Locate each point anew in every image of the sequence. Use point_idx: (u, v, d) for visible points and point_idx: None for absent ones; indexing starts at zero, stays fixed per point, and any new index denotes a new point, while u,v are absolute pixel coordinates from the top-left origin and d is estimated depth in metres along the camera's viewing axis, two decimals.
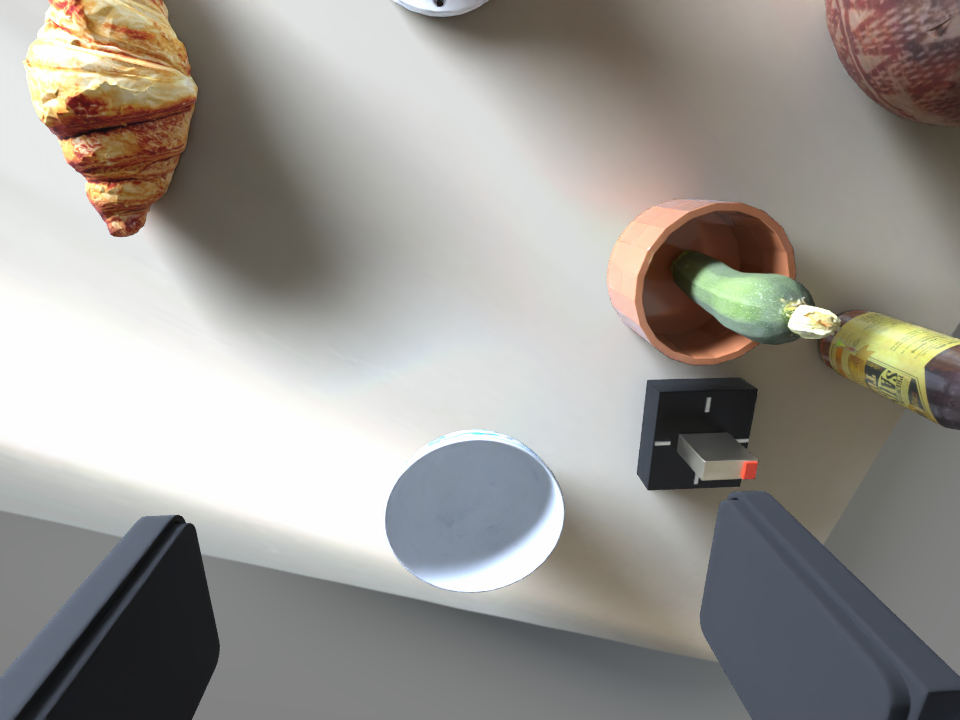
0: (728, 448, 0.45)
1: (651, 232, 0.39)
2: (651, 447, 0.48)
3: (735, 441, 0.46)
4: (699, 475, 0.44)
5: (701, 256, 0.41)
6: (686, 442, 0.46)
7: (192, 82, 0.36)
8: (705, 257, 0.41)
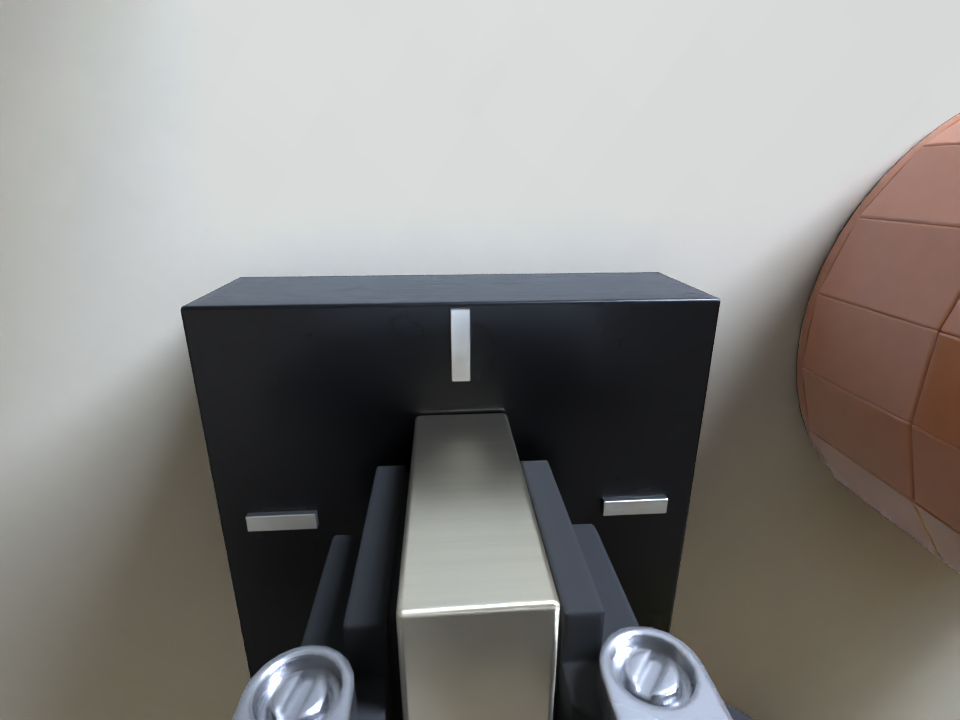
0: None
1: None
2: (427, 299, 0.10)
3: None
4: (418, 580, 0.06)
5: None
6: (513, 451, 0.09)
7: None
8: None
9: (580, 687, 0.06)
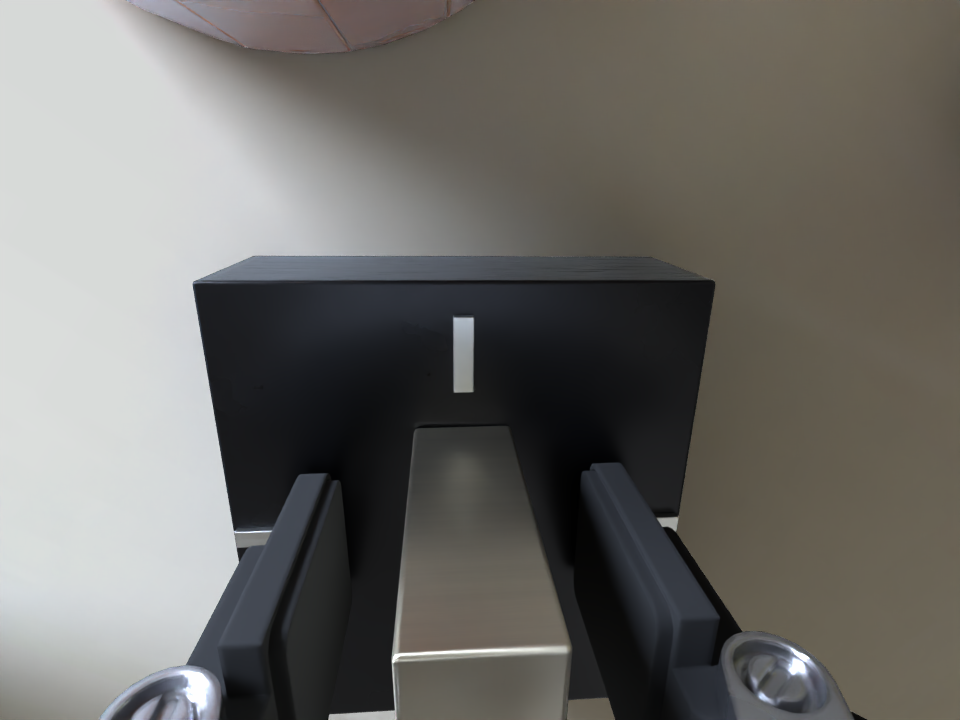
0: None
1: None
2: (242, 551, 0.11)
3: None
4: (416, 618, 0.06)
5: None
6: (518, 469, 0.08)
7: None
8: None
9: (697, 694, 0.06)
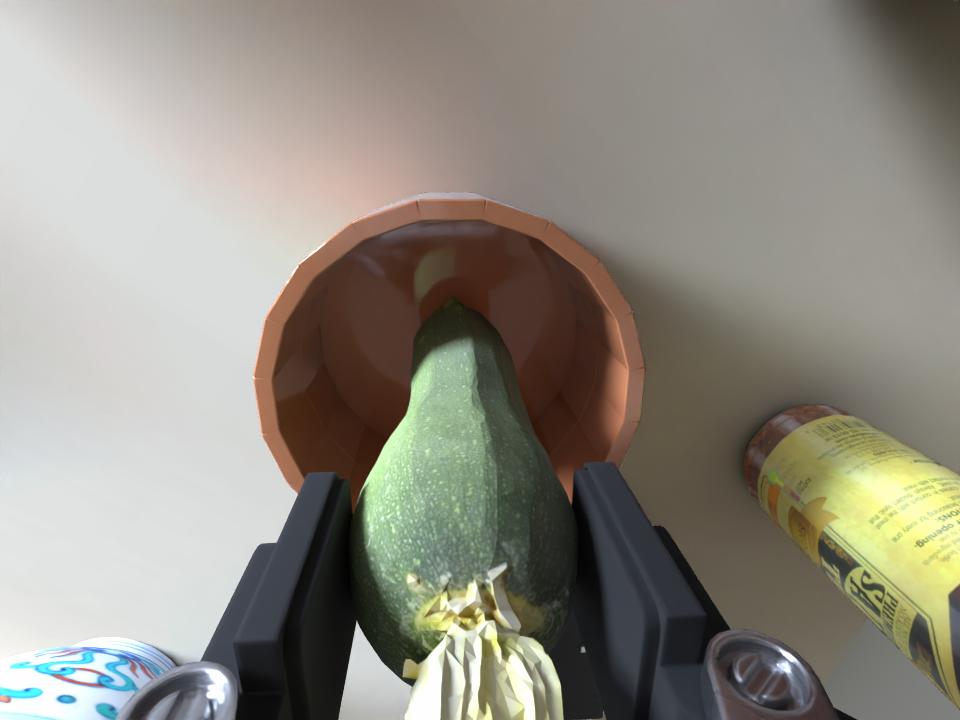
0: None
1: None
2: None
3: None
4: None
5: (455, 318, 0.19)
6: None
7: None
8: (457, 323, 0.18)
9: (684, 691, 0.06)
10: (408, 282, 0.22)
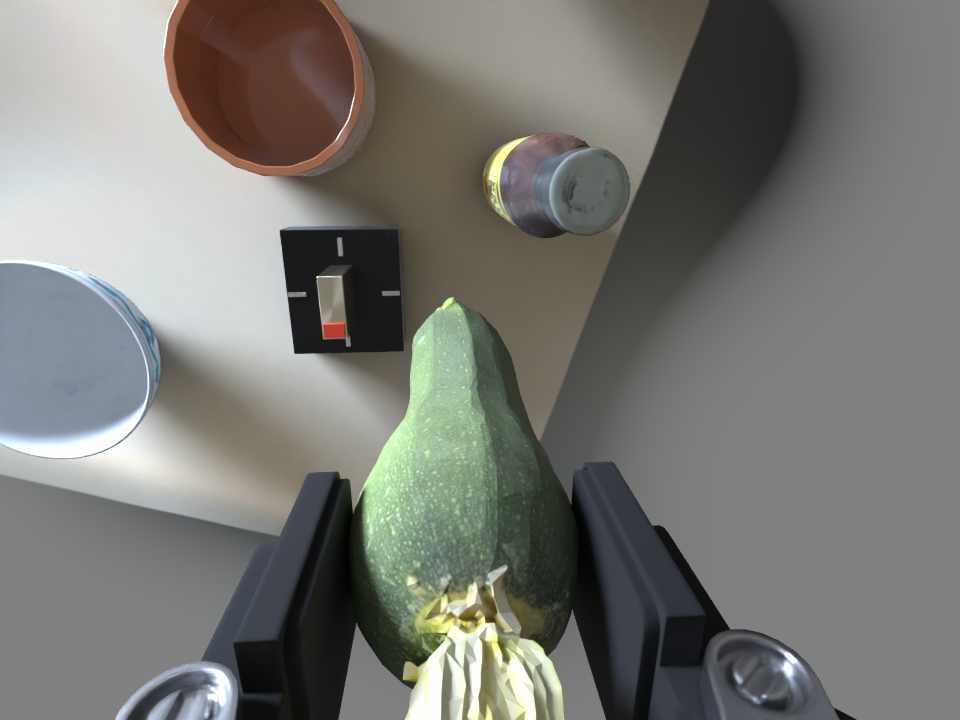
0: (350, 312, 0.40)
1: None
2: (289, 301, 0.42)
3: (354, 324, 0.41)
4: (320, 275, 0.37)
5: (454, 318, 0.19)
6: (349, 268, 0.40)
7: None
8: (456, 323, 0.18)
9: (683, 691, 0.06)
10: (265, 51, 0.39)
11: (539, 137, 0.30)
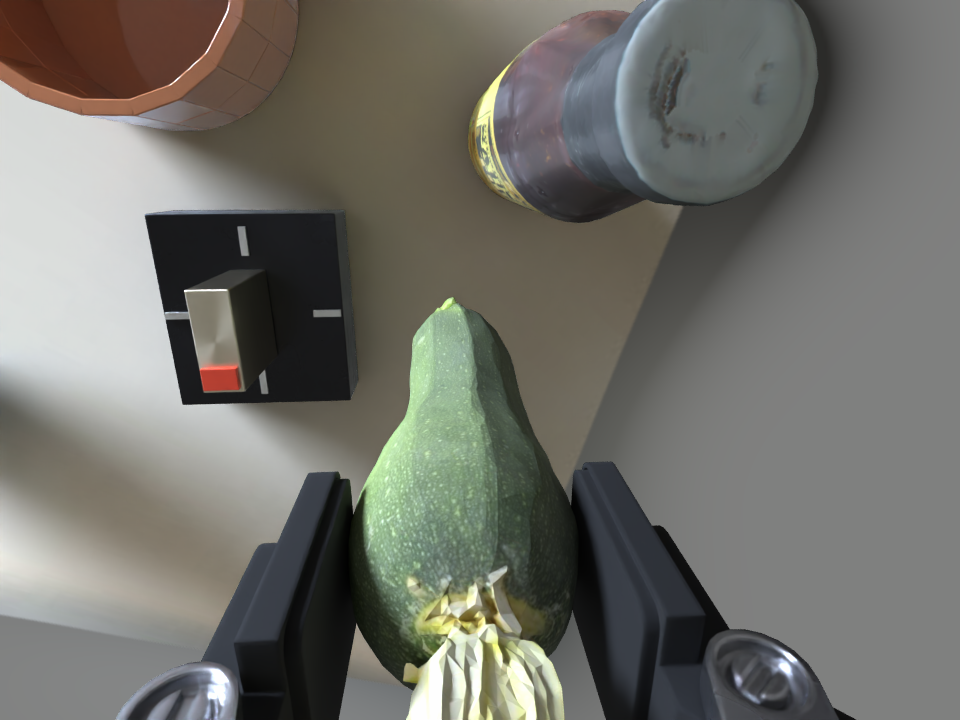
0: (256, 346, 0.25)
1: None
2: (168, 325, 0.27)
3: (266, 362, 0.26)
4: (194, 287, 0.22)
5: (454, 319, 0.19)
6: (254, 275, 0.25)
7: None
8: (456, 323, 0.18)
9: (683, 691, 0.06)
10: None
11: (572, 19, 0.15)
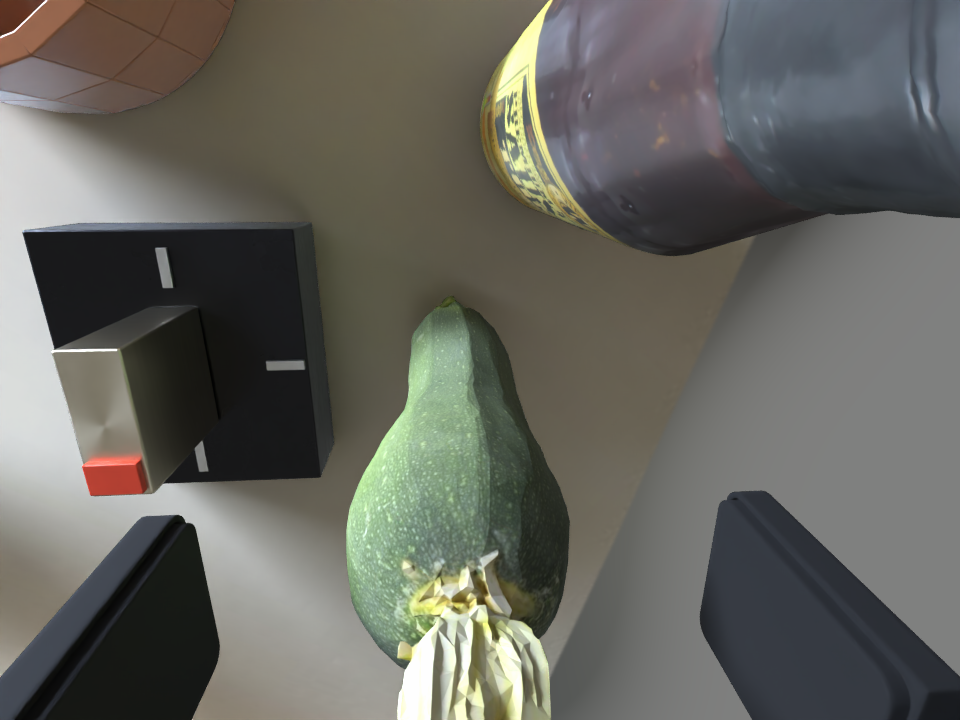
0: (177, 420, 0.17)
1: None
2: None
3: (198, 437, 0.19)
4: (69, 345, 0.15)
5: (452, 317, 0.19)
6: (176, 318, 0.18)
7: None
8: (454, 321, 0.19)
9: None
10: None
11: None
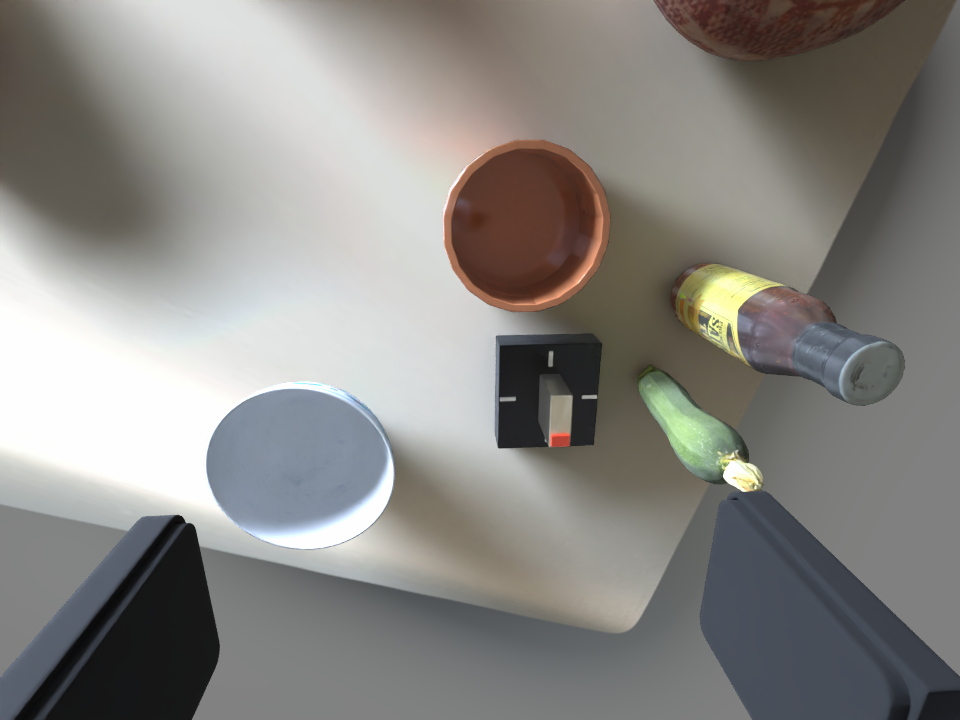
0: None
1: (461, 173, 0.38)
2: (498, 403, 0.47)
3: None
4: (552, 393, 0.42)
5: (662, 377, 0.47)
6: (563, 380, 0.45)
7: None
8: (665, 380, 0.46)
9: None
10: (495, 191, 0.44)
11: (785, 299, 0.35)
